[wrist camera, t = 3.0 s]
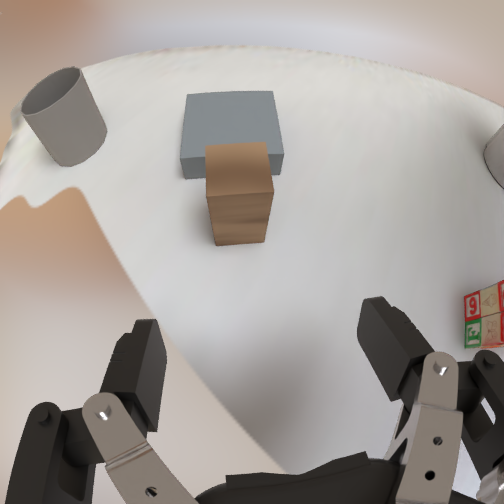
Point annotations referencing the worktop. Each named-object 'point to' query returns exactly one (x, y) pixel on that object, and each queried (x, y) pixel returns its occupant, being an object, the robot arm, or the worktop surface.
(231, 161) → the walnut block
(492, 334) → the stack of blocks
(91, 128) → the cup
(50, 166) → the worktop surface
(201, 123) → the slate block
